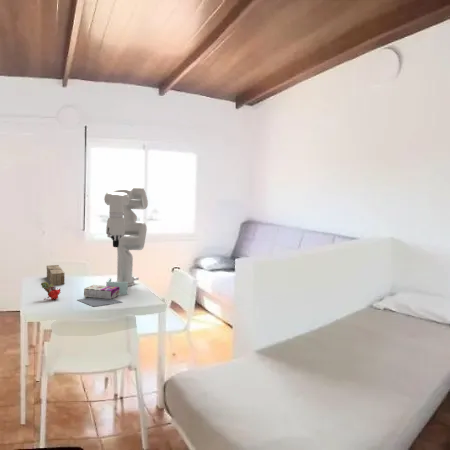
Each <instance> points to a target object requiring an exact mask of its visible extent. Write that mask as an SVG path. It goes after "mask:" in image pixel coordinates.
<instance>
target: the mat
mask: <svg viewBox="0 0 450 450" xmlns="http://www.w3.org/2000/svg"><path fill="white" fill-rule="evenodd" d="M76 301H78V302H81V303H83V304H86V305H88V306H91V307H93V308H96V307H102V306H109V305H115V304H120V303H121V304H122V303H123V301H121V300H119V299H116V298H112V299H104V298H92V297H84V298H79V299H77V300H76Z"/></svg>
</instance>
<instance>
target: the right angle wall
mask: <svg viewBox="0 0 450 450" xmlns="http://www.w3.org/2000/svg"><path fill="white" fill-rule="evenodd" d="M105 284H106V285H105V286H112V287H119V288H120V290H119V291H120V292H119V295H128V282H116V281H112V277H109V278H108V279H107V281H106V282H105Z"/></svg>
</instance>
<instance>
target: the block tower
mask: <svg viewBox="0 0 450 450" xmlns="http://www.w3.org/2000/svg"><path fill="white" fill-rule="evenodd" d="M46 278H47V280H48V281H49V282H50V283H49V284H53V285H54V286H61V285H65V272H64V270H63V269H62V268H61V267H60V265H59V264H53V265H51V264H50V265H46Z"/></svg>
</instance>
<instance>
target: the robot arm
mask: <svg viewBox="0 0 450 450" xmlns="http://www.w3.org/2000/svg"><path fill="white" fill-rule="evenodd" d="M103 198H104V199H103V200H104V203H105V205H107V206H109V214H108V215H109V217H108V218H107V221H106V228H105V229H106V230H105V233H106V235H107V238H109V239H111V240H112V247H113V248H116V250H117V252H116V253H117V261H116V268H117V270H116V281H115V282H128V286H129V287H130V286H134V285H135V281H139V279H140V278H139V277H138V276H135V277H134V276H133V266H134V263H133V262H134V261H133V259H134V258H133V257H134V256H133V254H132V253H131V251H141V250H144V247H145V243H146V237H147V230H148V229H147V224H146V222H144V221H137V220H138V217H137V214H136V213H135V212H134V211H133V210H146V209H147V208H148V205H149V201H148V197H147V193H146V190H145V187H143V186H138V185H137V186H135V185H134V186H133V185H130V186H129V185H128V186H124V187H123V188H119V189H114V190H113V189H112V190H109V191H107V192H106V193H105V194H104V197H103Z"/></svg>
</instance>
